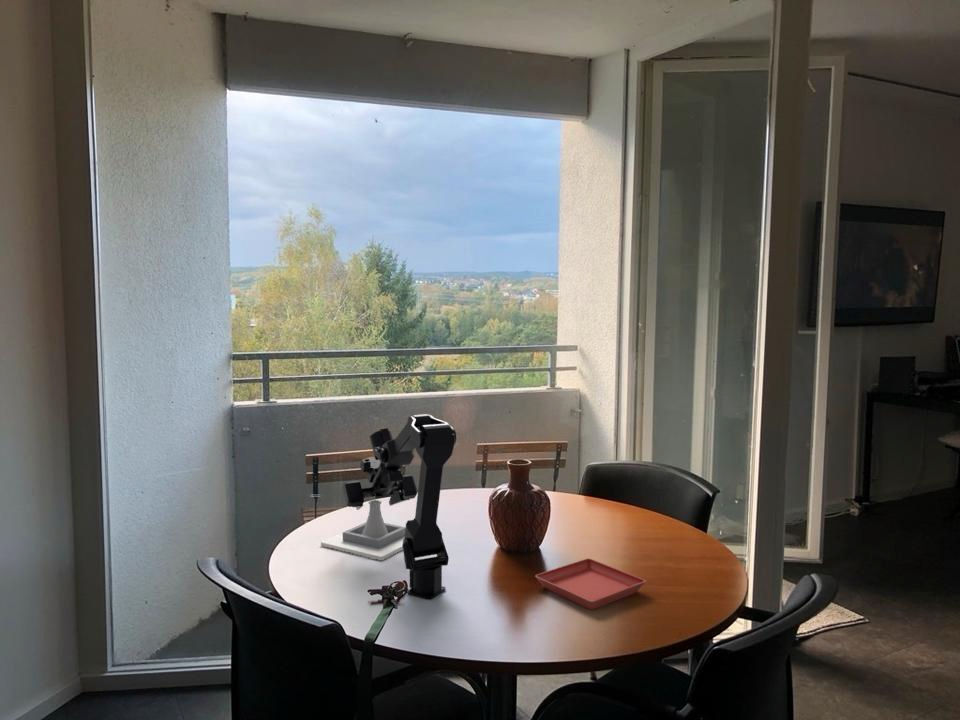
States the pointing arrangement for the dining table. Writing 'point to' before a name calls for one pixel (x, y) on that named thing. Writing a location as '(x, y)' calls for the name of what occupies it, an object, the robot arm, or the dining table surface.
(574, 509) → the dining table surface
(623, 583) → the plant saucer
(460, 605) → the dining table surface
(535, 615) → the dining table surface
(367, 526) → the flask
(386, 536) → the collar board
